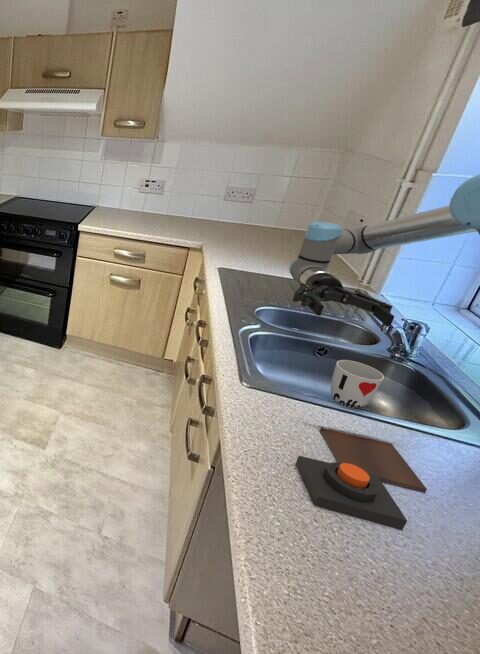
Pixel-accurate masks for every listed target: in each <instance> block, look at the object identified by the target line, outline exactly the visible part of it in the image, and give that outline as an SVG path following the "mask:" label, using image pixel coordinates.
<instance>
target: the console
mask: <svg viewBox="0 0 480 654" xmlns="http://www.w3.org/2000/svg"><path fill="white" fill-rule="evenodd" d="M340 464H342V463H340V462H337V461H334V462H327V461H323V460H318V459H316V458H311V457H308V456H307V457H306V456H303V455H297V459H296V462H295V466H296V468H297V470H298V473H299V475H300V478H301V480H302V482H303V484H304V487H305V488H306V490H307V493H308V495H309V497H310V500H311V502H312V504H313V506H314V507H317V508H322V509H325V510H328V511H332V512H335V513H340V514H343V515H347V516H350V517H353V518H357V519H361V520H365V521H368V522H371V523H375V524H378V525H382V526H386V527H390V528H393V529H396V530H399V531H403V530H404V528H405V526H406V524H407V523H408V519H407V518H406V516H405V515H404V513H403V512H402V510H401V509H400V508H399V506H398V505H397V503H396V502H395V499H394V498H393V497H392V496H391V494H390V492H389V491H388V489H387V488H386V487H385V485H384V483H383V482H381V480H380V479H379V477H378V476H377V475H376V474H372V473H368V472H366V473H367V474H368V475H369V477H370V480H369V482H368V484H367V486H366V488H363V489H361V488H358V487H354V486H352V485H350V484H348V483H346V482H344V481H343V480H342V479H340V478H339V477H338V476H337V470H338V468H339V466H340Z"/></svg>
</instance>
